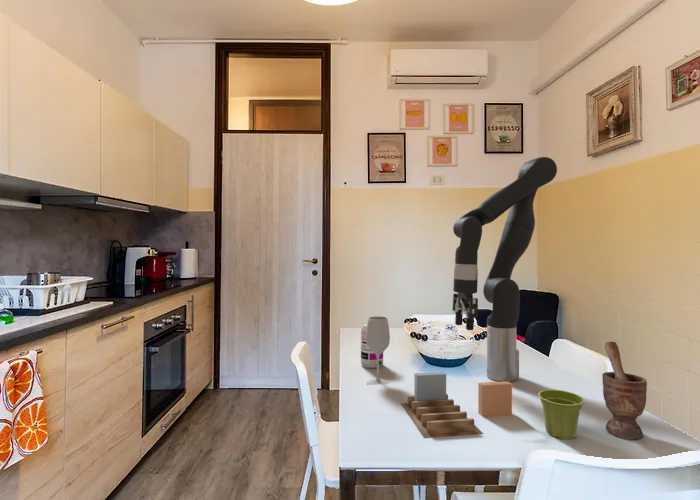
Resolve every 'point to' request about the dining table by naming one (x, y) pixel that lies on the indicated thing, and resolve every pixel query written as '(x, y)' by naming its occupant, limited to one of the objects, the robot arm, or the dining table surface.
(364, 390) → the dining table surface
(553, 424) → the plant pot
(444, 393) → the grey-blue thick slab
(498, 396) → the salmon pink rectangular prism
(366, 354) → the supplement can
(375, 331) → the wineglass
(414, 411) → the dish rack
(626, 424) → the mortar and pestle
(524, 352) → the dining table surface
